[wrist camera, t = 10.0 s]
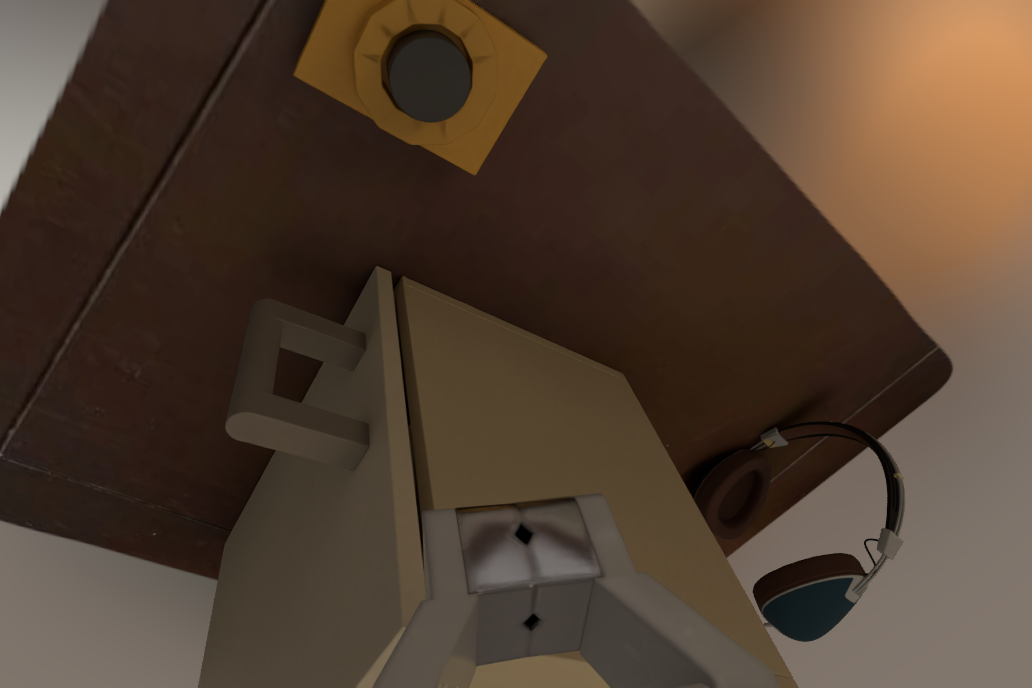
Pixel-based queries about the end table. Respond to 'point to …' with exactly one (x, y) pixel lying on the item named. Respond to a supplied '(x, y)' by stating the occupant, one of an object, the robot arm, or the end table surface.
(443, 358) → the cupboard
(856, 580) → the headphones
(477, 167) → the switch box
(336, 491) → the door
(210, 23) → the end table surface
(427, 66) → the button
